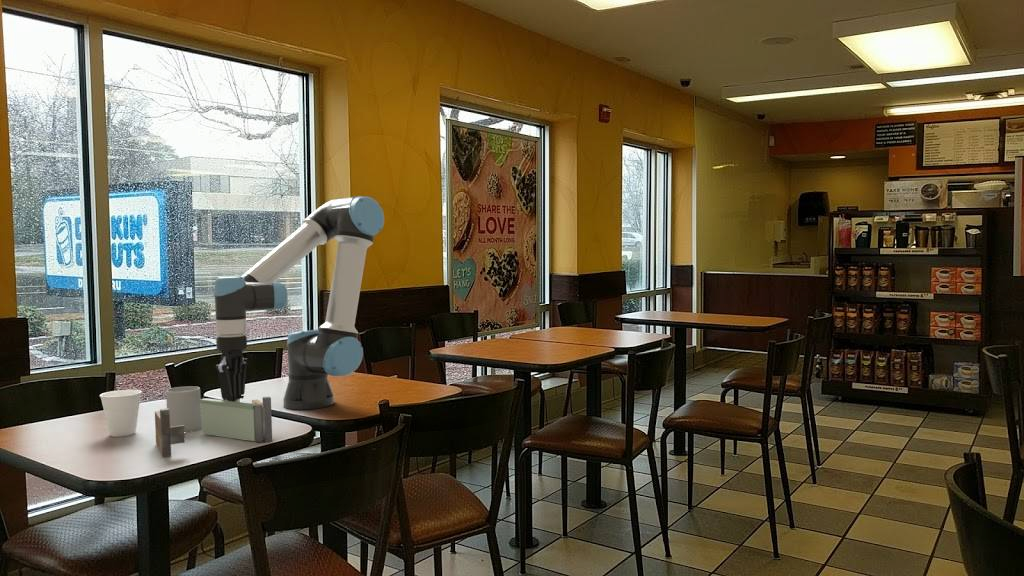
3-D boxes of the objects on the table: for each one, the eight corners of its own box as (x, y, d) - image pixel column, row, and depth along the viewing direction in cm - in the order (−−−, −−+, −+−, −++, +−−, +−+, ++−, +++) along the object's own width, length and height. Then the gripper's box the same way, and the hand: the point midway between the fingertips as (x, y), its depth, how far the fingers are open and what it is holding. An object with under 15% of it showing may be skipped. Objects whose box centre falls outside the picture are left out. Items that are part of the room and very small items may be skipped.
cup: (101, 432, 200) (99, 391, 200) (143, 428, 205) (141, 388, 204) (100, 441, 192) (98, 398, 191) (144, 436, 196) (142, 394, 196)
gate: (264, 440, 188) (263, 404, 187) (259, 442, 186) (258, 406, 186) (207, 432, 198) (205, 398, 197) (201, 433, 196) (200, 399, 196)
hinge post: (258, 430, 200) (257, 389, 200) (272, 441, 188) (270, 397, 188) (252, 431, 199) (251, 390, 199) (265, 442, 188) (264, 398, 187)
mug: (201, 431, 200) (199, 390, 200) (166, 434, 197) (164, 393, 197) (203, 421, 212) (201, 383, 211) (170, 424, 209) (168, 385, 208)
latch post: (175, 441, 189) (173, 398, 189) (185, 455, 177) (183, 408, 176) (155, 444, 187) (153, 400, 186) (163, 458, 174) (161, 411, 174)
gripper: (230, 332, 205) (233, 418, 206) (204, 338, 192) (207, 429, 193) (256, 332, 204) (259, 418, 205) (232, 338, 191) (235, 430, 192)
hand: (234, 423), depth 199 cm, fingers closed
